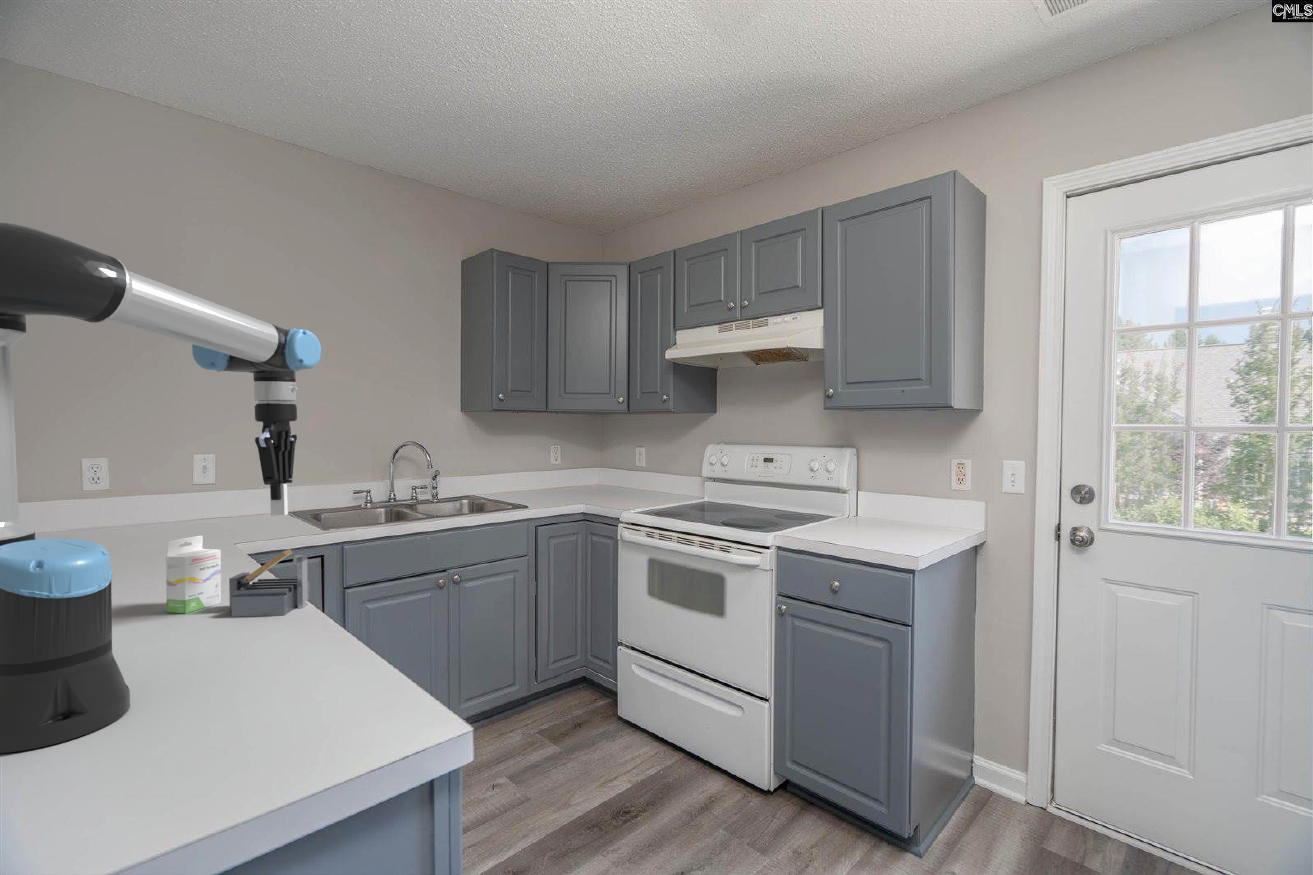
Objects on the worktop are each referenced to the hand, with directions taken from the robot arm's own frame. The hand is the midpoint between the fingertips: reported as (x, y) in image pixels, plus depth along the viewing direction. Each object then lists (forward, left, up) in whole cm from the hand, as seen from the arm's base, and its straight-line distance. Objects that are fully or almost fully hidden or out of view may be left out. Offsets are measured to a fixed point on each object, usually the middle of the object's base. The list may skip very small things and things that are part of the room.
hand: (279, 514), depth 131 cm
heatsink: (+1, +2, -20) cm, 20 cm away
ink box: (+2, +18, -20) cm, 27 cm away
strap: (+1, +3, -12) cm, 12 cm away
